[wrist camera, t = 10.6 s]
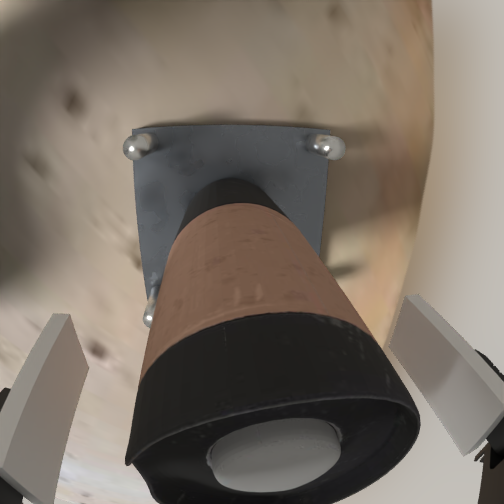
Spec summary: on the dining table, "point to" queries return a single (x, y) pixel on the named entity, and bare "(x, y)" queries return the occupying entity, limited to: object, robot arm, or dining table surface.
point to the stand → (223, 167)
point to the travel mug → (260, 368)
